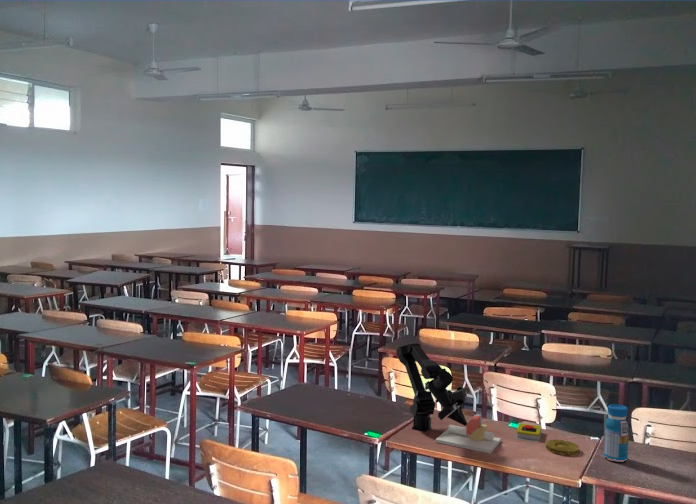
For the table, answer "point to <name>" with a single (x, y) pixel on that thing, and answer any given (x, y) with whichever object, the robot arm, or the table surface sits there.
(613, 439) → the beverage bottle
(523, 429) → the emergency button
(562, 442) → the olive round disc
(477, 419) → the lever
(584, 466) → the table surface
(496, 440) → the board
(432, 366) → the robot arm
